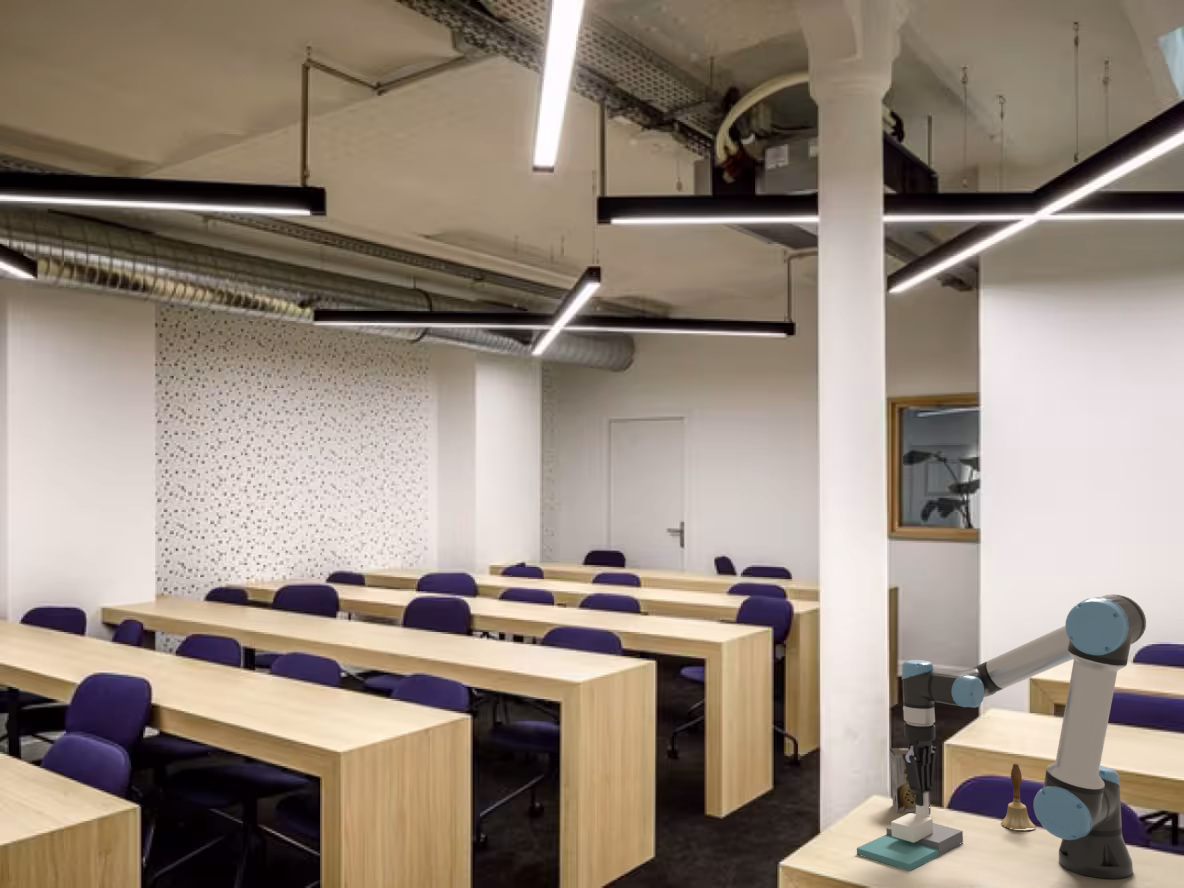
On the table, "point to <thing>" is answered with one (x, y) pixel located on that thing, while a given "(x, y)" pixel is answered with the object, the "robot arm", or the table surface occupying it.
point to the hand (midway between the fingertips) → (922, 817)
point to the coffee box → (902, 783)
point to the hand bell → (1017, 805)
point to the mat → (898, 852)
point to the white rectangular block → (912, 827)
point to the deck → (940, 838)
